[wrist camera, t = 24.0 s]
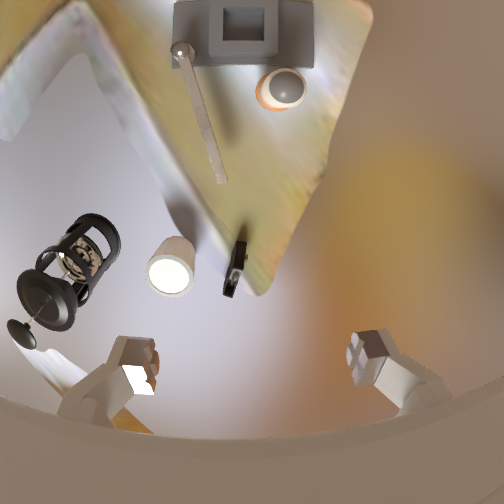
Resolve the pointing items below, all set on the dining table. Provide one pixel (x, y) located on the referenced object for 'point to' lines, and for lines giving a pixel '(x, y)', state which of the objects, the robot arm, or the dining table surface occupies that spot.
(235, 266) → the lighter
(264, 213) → the dining table surface
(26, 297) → the french press
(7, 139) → the dining table surface
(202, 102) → the ball-tipped lever
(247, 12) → the socket block
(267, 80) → the plug
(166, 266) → the white cup
